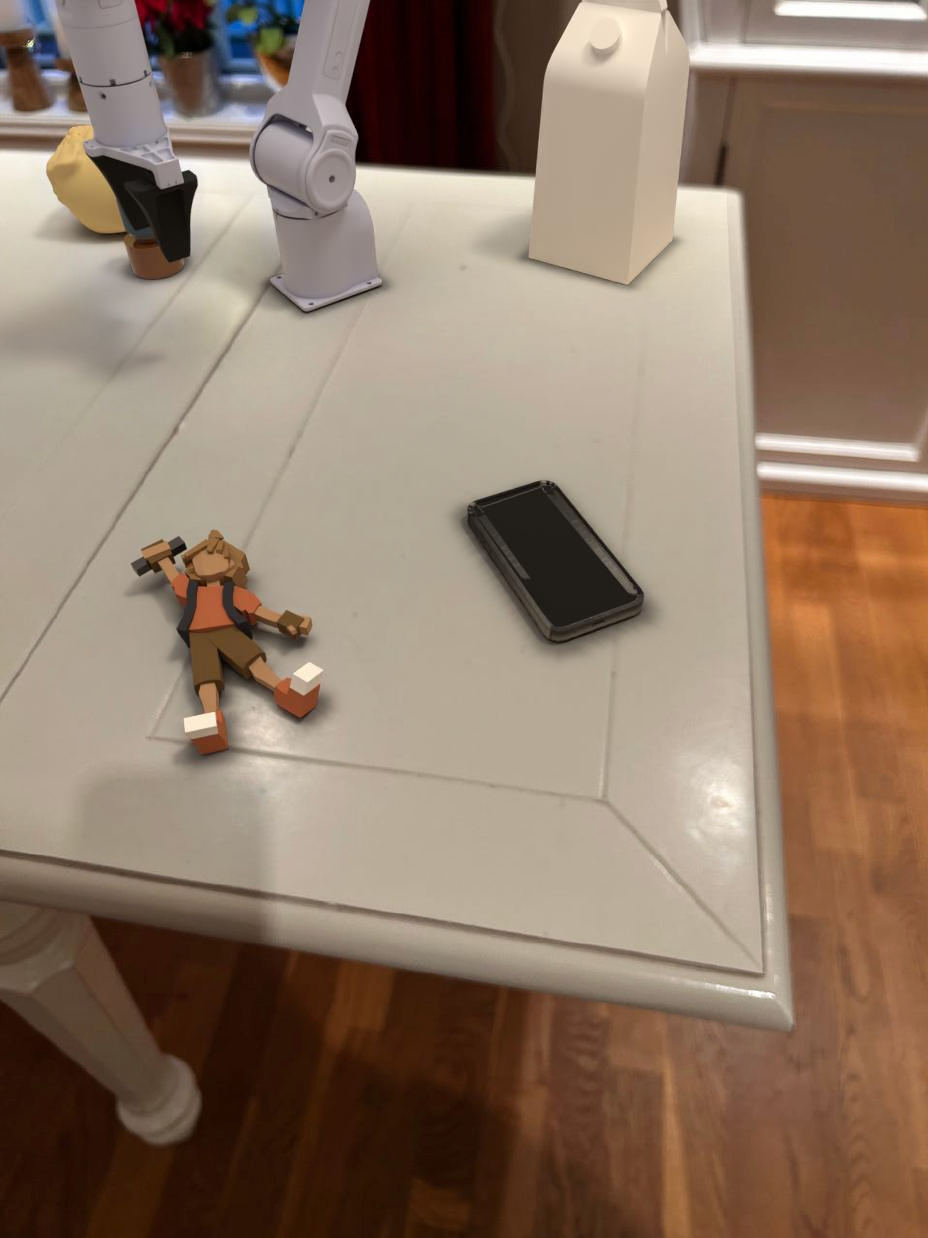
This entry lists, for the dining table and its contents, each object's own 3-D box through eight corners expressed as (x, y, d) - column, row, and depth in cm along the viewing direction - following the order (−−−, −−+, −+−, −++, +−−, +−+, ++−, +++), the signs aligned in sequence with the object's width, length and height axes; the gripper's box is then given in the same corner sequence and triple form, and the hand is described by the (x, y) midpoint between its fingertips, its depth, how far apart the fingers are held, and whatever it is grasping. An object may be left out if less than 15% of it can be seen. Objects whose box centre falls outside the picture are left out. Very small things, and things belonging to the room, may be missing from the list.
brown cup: (171, 249, 104) (161, 209, 100) (192, 268, 101) (182, 227, 97) (124, 264, 101) (112, 223, 98) (144, 284, 98) (132, 242, 95)
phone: (550, 476, 73) (650, 599, 64) (549, 487, 74) (648, 610, 65) (461, 504, 71) (550, 635, 62) (461, 515, 72) (550, 646, 63)
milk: (672, 240, 103) (714, -39, 83) (627, 284, 96) (661, -6, 77) (577, 216, 107) (596, -54, 88) (528, 257, 101) (537, -24, 81)
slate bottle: (157, 213, 100) (145, 171, 96) (173, 227, 97) (162, 185, 94) (118, 224, 98) (105, 182, 95) (134, 239, 95) (121, 196, 92)
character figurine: (130, 742, 55) (119, 522, 65) (152, 778, 59) (139, 566, 69) (329, 700, 56) (288, 492, 67) (337, 738, 60) (297, 537, 71)
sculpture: (94, 199, 113) (64, 104, 105) (187, 203, 112) (164, 107, 104) (54, 242, 105) (18, 143, 97) (153, 247, 104) (125, 147, 96)
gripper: (35, 61, 75) (89, 225, 85) (99, 112, 67) (151, 287, 77) (117, 43, 77) (160, 204, 88) (189, 90, 69) (227, 262, 80)
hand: (161, 241), depth 82 cm, fingers open, 7 cm apart
